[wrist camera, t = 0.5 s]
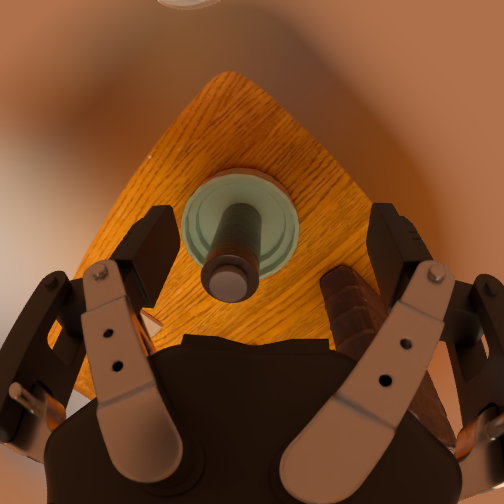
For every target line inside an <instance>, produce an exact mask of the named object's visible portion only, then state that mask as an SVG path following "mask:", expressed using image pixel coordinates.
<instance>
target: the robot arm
mask: <svg viewBox="0 0 504 504" xmlns="http://www.w3.org/2000/svg"><path fill="white" fill-rule="evenodd" d="M366 245H367V252H368V255H369V258H370V261H371V264H372V267H373V270H374V273H375V277H376V280H377V283H378V286H379V290H380V293H381V297H382V300H383V304H384V307H385V311H386V313H390V314H389V315H388V317H387V319H386V320H385V322H384V323H383V325H382V327H381V328H380V330H379V332H378V333H377V335H376V336H375V338H374V339H373V341H372V343H371V344H370V346H369V347H368V349H367V350H366V352H365V353H364V355H363V356H362V357H361V359H360V360H359V361H357V360H356V359H354V358H352V357H351V356H348V355H346V354H344V353H341V352H338V351H335V350H330V349H329V339H290V340H285V341H280V342H275V343H270V344H264V345H259V346H250V345H246V344H242V343H239V342H235V341H231V340H228V339H224V338H221V337H218V336H203V335H190V334H184V336H183V339H182V342H181V344H179V345H175V346H170V347H167V348H165V349H162V350H160V351H158V352H157V351H156V349H155V347H154V344H153V342H152V340H151V337H150V335H149V332H148V330H147V327H146V325H145V322H144V320H143V317H142V315H141V313H140V311H141V309H142V307H144V308H154V306H155V304H156V302H157V299H158V297H159V295H160V292H161V290H162V288H163V285H164V283H165V281H166V279H167V276H168V274H169V272H170V270H171V267H172V265H173V263H174V261H175V259H176V256H177V254H178V252H179V249H180V235H179V231H178V227H177V224H176V220H175V216H174V212H173V208H172V207H171V206H170V205H160V206H152V207H151V208H150V210H149V211H148V213H147V214H146V215H145V217H144V218H141V219H140V220H139V221H137V222H136V223H135V224H134V225H132V227H131V228H130V230H129V231H128V232H127V234H126V235H125V237H124V238H123V240H122V241H121V242H120V244H119V245H118V246H117V248H116V249H115V251H114V252H113V254H112V255H111V257H110V258H109V259H107V260H101V261H99V262H96V263H94V264H93V265H91V266H90V267H89V268H88V269H87V270H86V271H85V273H84V275H83V278H79V279H75V280H71V281H69V279H68V277H67V276H66V274H65V272H63V271H55V272H52V273H50V274H48V275H47V276H46V277H45V278H43V279H42V281H41V282H40V283H39V285H38V286H37V288H36V289H35V291H34V292H33V294H32V296H31V297H30V299H29V300H28V302H27V303H26V305H25V307H24V308H23V310H22V312H21V313H20V315H19V317H18V319H17V320H16V322H15V324H14V326H13V327H12V329H11V331H10V333H9V334H8V336H7V338H6V340H5V342H4V344H3V346H2V348H1V350H0V443H1V444H3V445H4V446H6V447H8V448H9V449H11V450H13V451H15V452H17V453H19V454H21V455H23V456H27V457H28V458H30V459H33V460H34V461H37V462H39V463H42V464H44V467H45V473H46V481H47V504H457V503H458V501H460V500H463V499H466V498H469V497H471V496H474V495H477V494H482V493H486V492H489V491H492V490H495V489H498V488H501V487H503V486H504V286H503V284H502V283H501V282H500V281H499V280H498V279H496V278H495V277H493V276H491V275H488V274H480V275H478V276H477V277H476V279H475V281H474V284H473V285H472V284H468V283H464V282H460V281H457V280H455V277H454V275H453V273H452V271H451V270H450V269H449V268H448V267H447V266H445V265H444V264H442V263H440V262H437V261H434V260H433V258H432V256H431V254H430V253H429V251H428V249H427V247H426V245H425V244H424V242H423V240H421V237H420V235H419V234H418V233H417V230H416V228H415V227H414V225H413V224H412V223H411V222H410V221H409V220H408V219H406V218H405V217H404V216H399V214H398V213H397V211H396V209H395V208H394V206H393V204H390V203H373V205H372V208H371V214H370V220H369V226H368V232H367V240H366ZM55 320H57V321H58V322H59V324H60V325H61V326H62V330H61V332H60V334H59V336H58V339H57V341H56V343H55V345H54V347H53V349H51V348H50V347H49V345H48V341H47V337H48V333H49V331H50V329H51V327H52V325H53V323H54V322H55ZM483 334H484V335H485V338H486V341H487V344H488V347H489V357H488V359H487V356H486V352H485V349H484V346H483V343H482V340H481V337H482V335H483ZM438 341H444V342H446V345H447V349H448V353H449V357H450V361H451V365H452V369H453V374H454V378H455V383H456V388H457V393H458V398H459V404H460V411H461V416H462V424H463V428H462V429H461V430H460V432H459V434H458V436H457V440H456V445H455V447H454V450H453V452H454V455H453V453H452V452H451V451H450V450H449V449H448V448H447V447H446V446H445V445H444V444H443V443H442V442H441V441H440V440H439V439H438V438H437V437H436V436H435V435H434V434H433V433H432V432H431V431H430V430H429V429H428V428H427V427H426V426H425V425H424V424H423V423H422V422H421V421H420V420H419V419H418V418H417V417H416V416H415V415H414V414H413V413H412V412H411V411H410V410H409V409H408V407H409V405H410V403H411V401H412V399H413V397H414V395H415V393H416V391H417V389H418V387H419V385H420V383H421V381H422V379H423V377H424V374H425V372H426V370H427V368H428V365H429V363H430V361H431V358H432V356H433V354H434V351H435V349H436V346H437V344H438ZM86 353H87V357H88V362H89V367H90V371H91V376H92V380H93V384H94V388H95V392H96V396H97V397H96V398H94V399H93V400H92V401H90V402H89V403H88V404H87V405H85V406H84V407H82V408H81V409H80V410H78V411H77V412H76V413H74V414H73V415H72V416H70V417H69V418H68V419H66V411H65V410H66V407H67V404H68V401H69V398H70V396H71V393H72V390H73V387H74V384H75V382H76V379H77V376H78V374H79V371H80V368H81V366H82V363H83V361H84V358H85V356H86Z"/></svg>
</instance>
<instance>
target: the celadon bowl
mask: <svg viewBox="0 0 504 504" xmlns="http://www.w3.org/2000/svg"><path fill="white" fill-rule="evenodd" d="M237 203H245V204H248V205H251V206H252V207H254V208H255V209H256V210H257V211H258V212H259V214H260V216H261V220H262V229H261V251H260V272H259V280H261V279H264V278H266V277H268V276H270V275H272V274H274V273H276V272H277V271H279V270H280V269H281V268H282V267H283V266H284V265H285V264H286V263H287V262H288V261H289V260H290V258H291V256H292V255H293V253H294V251H295V249H296V247H297V244H298V238H299V232H300V227H299V222H298V216H297V211H296V208H295V204H294V202H293V200H292V198H291V197H290V195H289V193H288V191H287V190H286V189H285V187H283V186H282V185H281V184H280V183H279V182H278V181H277V180H275V179H274V178H273V177H272V176H270V175H267V174H265V173H263V172H260V171H258V170H256V169H247V168H232V169H228V170H224V171H220V172H217V173H215V174H214V175H212V176H211V177H209V178H207V179H206V180H204V181H203V182H202V183H201V184H200V186H199V187H198V188H197V189H196V191H195V192H194V193H193V194H192V196H191V197H190V198H189V200H188V201H187V202H186V205H185V208H184V211H183V214H182V217H181V235H182V238H183V241H184V244H185V247H186V249H187V252H188V253H189V254H190V256H191V257H192V258H193V259H194V261H195V262H196V263H197V264H198V265H199V266H200V267H201V268H203V265H204V262H205V260H206V257H207V254H208V251H209V249H210V246H211V243H212V241H213V238H214V235H215V233H216V230H217V227H218V225H219V222H220V219H221V217H222V214H223V212H224V211H225V210H226V209H227V208H228V207H229V206H231V205H233V204H237Z"/></svg>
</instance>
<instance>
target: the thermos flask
mask: <svg viewBox="0 0 504 504" xmlns="http://www.w3.org/2000/svg"><path fill="white" fill-rule="evenodd" d="M261 229H262V220H261V216H260V214H259V212H258V211H257V210H256V209H255V208H254V207H252V206H251V205H248V204H245V203H237V204H233V205H231V206H229V207H228V208H227V209H226V210H225V211H224V212H223V214H222V217H221V219H220V222H219V225H218V227H217V230H216V233H215V235H214V238H213V241H212V243H211V246H210V249H209V251H208V254H207V257H206V260H205V262H204V265H203V268H202V271H201V282H202V285H203V287H204V289H205V290H206V291H207V293H208V294H209V295H211V296H212V297H213V298H215V299H217V300H219V301H222V302H227V303H237V302H241V301H244V300H246V299H248V298H250V297H251V296H252V295H253V294H254V293H255V292H256V290H257V288H258V285H259V272H260V251H261Z"/></svg>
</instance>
